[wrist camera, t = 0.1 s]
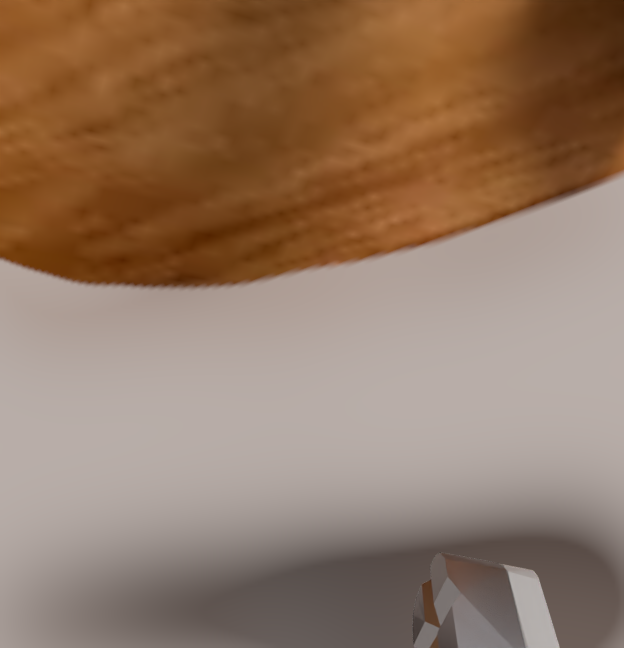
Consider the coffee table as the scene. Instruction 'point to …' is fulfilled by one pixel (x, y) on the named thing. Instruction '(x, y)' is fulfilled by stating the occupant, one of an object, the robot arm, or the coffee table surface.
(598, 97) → the coffee table surface
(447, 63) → the coffee table surface
